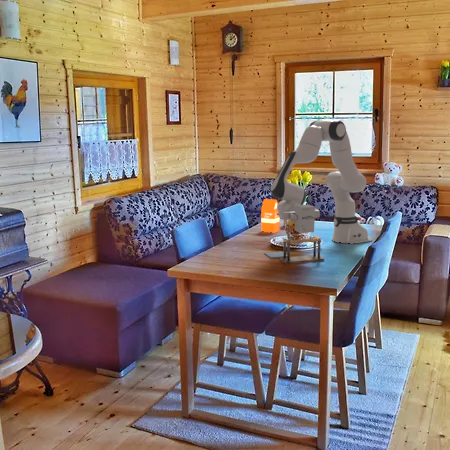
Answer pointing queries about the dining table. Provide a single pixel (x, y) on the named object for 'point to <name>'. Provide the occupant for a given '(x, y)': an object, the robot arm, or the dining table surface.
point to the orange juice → (269, 216)
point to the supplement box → (304, 218)
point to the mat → (275, 254)
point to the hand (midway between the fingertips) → (305, 216)
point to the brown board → (302, 259)
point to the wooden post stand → (301, 242)
